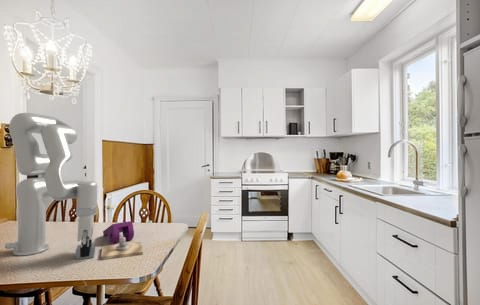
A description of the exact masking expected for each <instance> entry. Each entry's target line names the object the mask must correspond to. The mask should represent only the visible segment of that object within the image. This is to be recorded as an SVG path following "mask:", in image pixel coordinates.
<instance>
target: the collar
mask: <svg viewBox="0 0 480 305" xmlns="http://www.w3.org/2000/svg"><path fill="white" fill-rule="evenodd" d="M89 246H90V255H89V256H87V257H80V247H81V244H77V246H76V249H75V261H77V260H78V261H79V260H86V259H87V260H88V259H94V257H95V253H96V243H95V242H93V243H92V244H89Z"/></svg>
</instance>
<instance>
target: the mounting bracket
mask: <svg viewBox="0 0 480 305" xmlns="http://www.w3.org/2000/svg"><path fill="white" fill-rule="evenodd" d="M121 233H122V237H125V242H126V241H127V242H128V241H131V240H133V239H134V236H135V230H134V225H133V221H132V220H129V221H122V222H115V223H112V224H111V225H109V226H108V227H107V228H105V229H104V230H103V231H102V234H103V237H107V238H108V242H109V243H110V244H111V245H115V244H119V240H120V238H121V237H120V234H121Z"/></svg>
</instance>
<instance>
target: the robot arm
mask: <svg viewBox="0 0 480 305" xmlns="http://www.w3.org/2000/svg"><path fill="white" fill-rule="evenodd" d="M8 127H9V128H8V129H9V130H8V131H9V134H10V137H11V139H12V142H13V146H14V147H13V148H14V154H15V161H16V167H17V170H18V173H19V174H21V175H22V176H40V177H30V178H25V179H23V180H21V181H20V182H18V183H17V185H16V188H15V193H16V194H15V195H16V198H17V203H18V204H17V206H18V214H17V217H18V223H17V241H15V242H9V243H8V242H7V243H5V244H4V248H5V249H6V250H9V249H12V255H14V256H29V255H30V256H31V255H36V254H39V253H43V252H45V251H47V250H49V248H50V245H49V243H46V226H47V225H46V223H47V222H46V221H47V208H46V205H45V203H44V202H43V200H44V199H49V198H51V199H53V200H55V201H66V200H72V199H76V207H75V208H76V211H75V212H76V213H75V215H76V217H78V222H77V223H78V224H77V242H80V245H81V247H80V257H87V256H89V255H90V246H89V244H93V243H92V240H93V239H92V238H93V234H94V222H95V220H94V219H95V218H94V217H95V216H96V215H97V214H98V183H97V182H96V181H85V180H84V181H83V180H65V181H63V179H62V175H61V168H62V166H63V165H64V164H65V163H68V162H69V161H71V160H72V158H73V154H72V150H71V148H70V145H72V144H74V143H75V142H77V138H78V133H77V132H76V129H75V128H74V127H72V126H71V125H69V124H68V123H65V122H63V121H62V120H60V119H58V118H56V117H53V116H49V115H44V114H43V115H42V114H38V113H33V112H20V113H17V114H15V115H14V116H12V117H11V120H10V122H9V126H8ZM33 134H40V136H41V139H42V142H43V144H44V145H43V146H44V148H45V151H46V153H44V154H43V153H42V154H41V151H40V145H39V142H38V141H37V139H36V137H35V136H34V135H33Z"/></svg>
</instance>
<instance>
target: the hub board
mask: <svg viewBox="0 0 480 305" xmlns="http://www.w3.org/2000/svg"><path fill="white" fill-rule="evenodd" d="M101 247H102V249H101V255H100V260H101V261H103V260H110V259H118V258H126V257H133V256H141V255H144V251H143V248H142V243H141V241H138V242H128V243H126V240H125V237H123V236H121V237H119V241H118V243H117V244H111V245H110V244H109V245H102V246H101Z"/></svg>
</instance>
